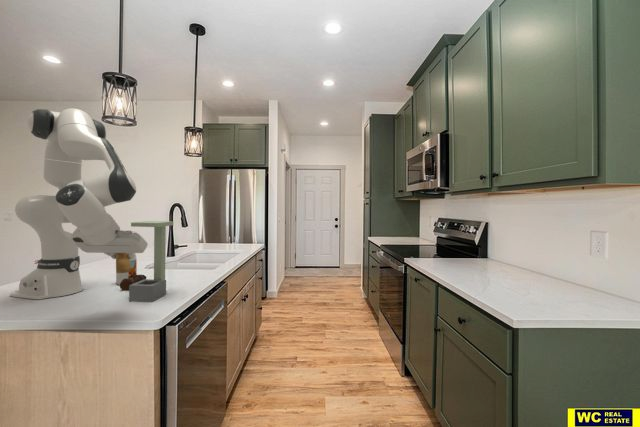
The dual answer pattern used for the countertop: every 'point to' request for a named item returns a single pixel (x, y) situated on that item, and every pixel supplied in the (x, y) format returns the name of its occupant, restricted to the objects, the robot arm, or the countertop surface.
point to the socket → (147, 290)
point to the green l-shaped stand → (157, 245)
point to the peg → (122, 263)
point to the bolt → (131, 282)
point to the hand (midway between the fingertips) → (124, 257)
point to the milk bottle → (128, 274)
